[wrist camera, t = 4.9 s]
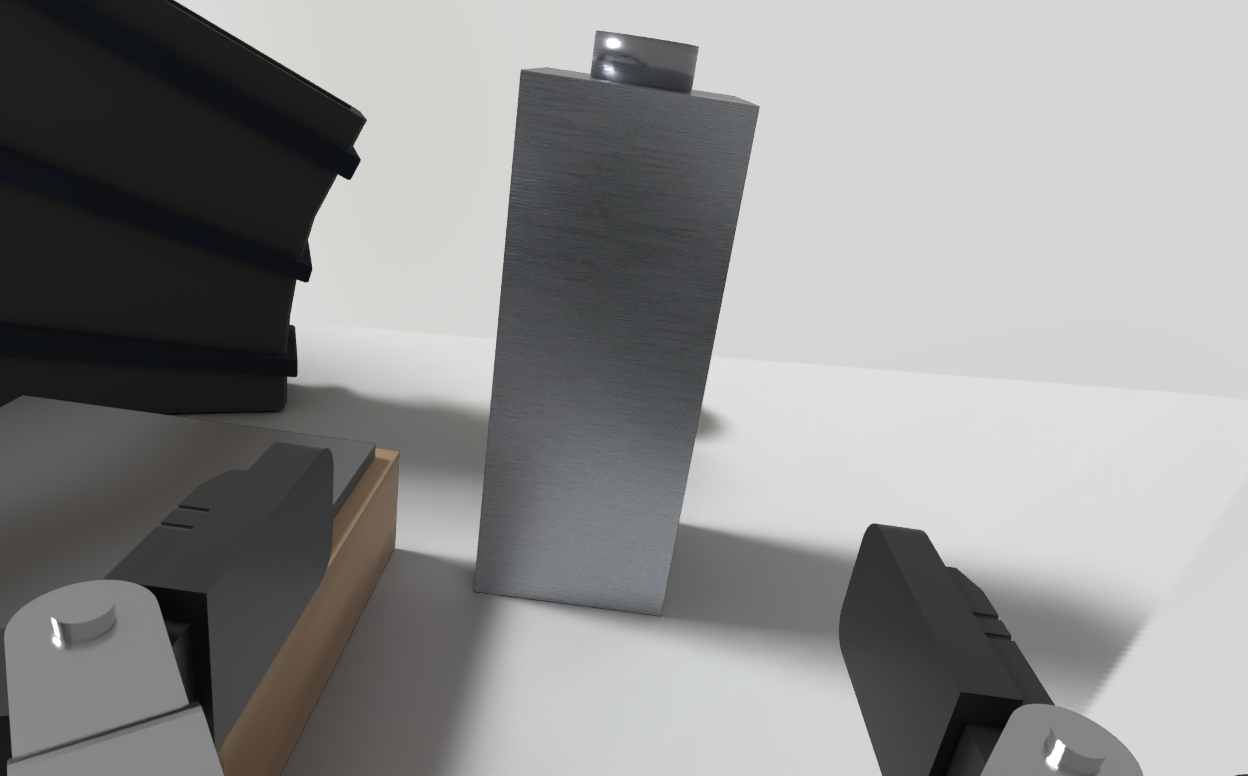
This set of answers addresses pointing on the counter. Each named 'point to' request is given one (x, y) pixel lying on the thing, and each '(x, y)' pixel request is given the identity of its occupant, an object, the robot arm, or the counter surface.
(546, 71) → the block
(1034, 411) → the counter surface
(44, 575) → the stand
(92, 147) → the black ridged block
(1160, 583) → the counter surface
